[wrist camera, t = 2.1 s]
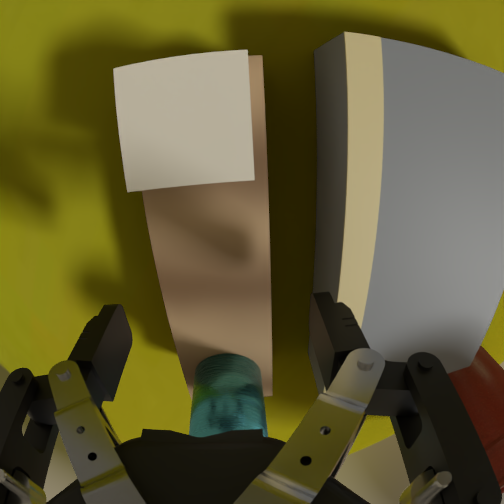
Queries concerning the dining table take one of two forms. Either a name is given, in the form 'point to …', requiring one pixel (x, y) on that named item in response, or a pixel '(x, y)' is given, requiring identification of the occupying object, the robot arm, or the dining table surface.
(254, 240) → the pallet
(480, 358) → the flower pot
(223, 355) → the teal canister
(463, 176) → the dock
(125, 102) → the white cube
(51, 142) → the dining table surface
